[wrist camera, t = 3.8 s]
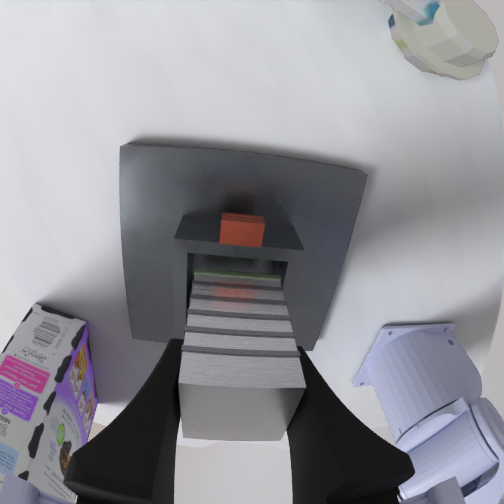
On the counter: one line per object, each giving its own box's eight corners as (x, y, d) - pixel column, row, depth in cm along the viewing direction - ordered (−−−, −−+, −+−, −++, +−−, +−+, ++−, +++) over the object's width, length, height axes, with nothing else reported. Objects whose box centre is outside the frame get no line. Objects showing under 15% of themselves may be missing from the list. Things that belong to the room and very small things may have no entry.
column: (279, 273, 15) (308, 386, 9) (265, 334, 17) (281, 440, 11) (195, 266, 14) (176, 381, 8) (193, 329, 16) (181, 438, 10)
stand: (360, 170, 17) (392, 190, 13) (310, 342, 23) (321, 380, 20) (125, 143, 15) (97, 157, 12) (135, 329, 22) (123, 368, 18)
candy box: (32, 299, 20) (-55, 458, 6) (90, 319, 21) (20, 507, 7) (55, 389, 26) (16, 508, 12) (100, 404, 27) (72, 532, 13)
